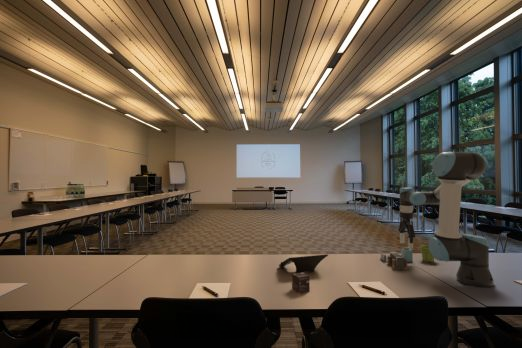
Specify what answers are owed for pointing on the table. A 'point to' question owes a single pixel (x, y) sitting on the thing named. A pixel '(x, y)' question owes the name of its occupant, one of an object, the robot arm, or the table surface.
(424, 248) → the plant pot
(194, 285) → the table surface
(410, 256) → the connector
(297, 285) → the box
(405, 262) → the clip
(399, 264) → the cable bar
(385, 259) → the end holder
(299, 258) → the portable electronic device stand
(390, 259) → the clip
